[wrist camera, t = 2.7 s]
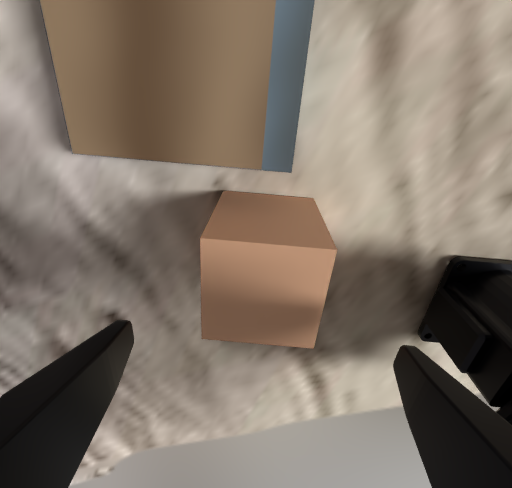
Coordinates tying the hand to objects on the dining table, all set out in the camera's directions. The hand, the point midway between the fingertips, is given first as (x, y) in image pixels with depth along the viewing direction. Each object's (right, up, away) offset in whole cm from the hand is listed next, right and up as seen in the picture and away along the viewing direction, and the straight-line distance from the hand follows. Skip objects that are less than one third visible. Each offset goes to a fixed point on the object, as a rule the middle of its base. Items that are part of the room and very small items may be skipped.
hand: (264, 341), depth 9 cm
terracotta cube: (0, +4, +7) cm, 8 cm away
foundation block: (-4, +13, +3) cm, 13 cm away
